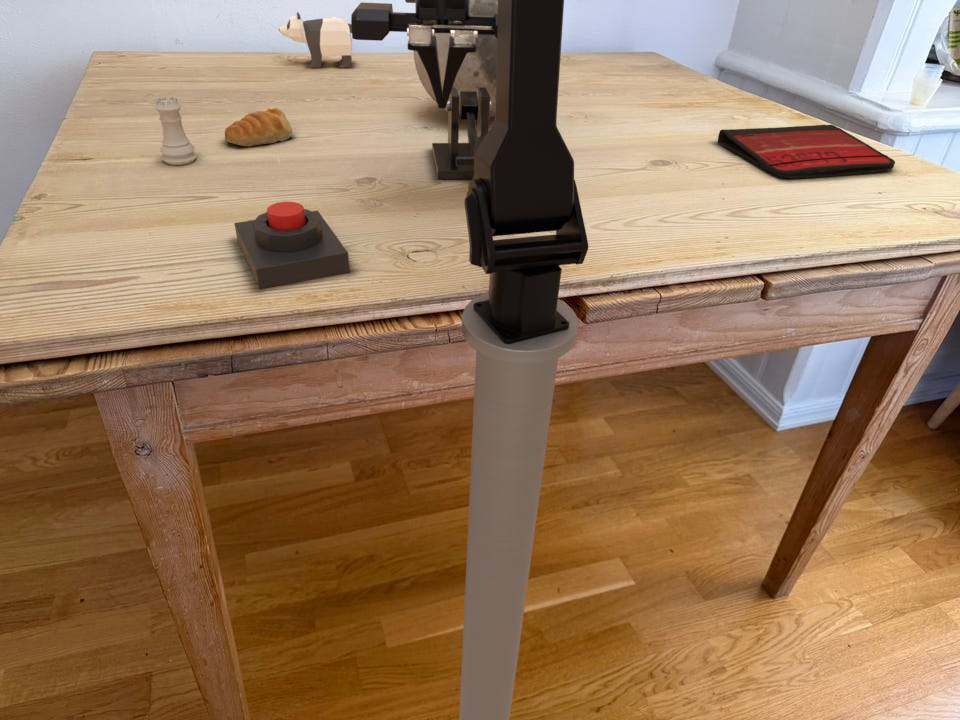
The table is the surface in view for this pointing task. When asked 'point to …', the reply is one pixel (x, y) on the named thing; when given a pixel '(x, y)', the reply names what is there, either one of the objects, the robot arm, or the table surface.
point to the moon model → (468, 60)
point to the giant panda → (322, 38)
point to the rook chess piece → (173, 133)
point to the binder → (805, 151)
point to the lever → (468, 124)
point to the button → (286, 216)
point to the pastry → (259, 128)
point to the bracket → (449, 151)
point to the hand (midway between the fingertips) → (442, 107)
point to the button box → (291, 250)
